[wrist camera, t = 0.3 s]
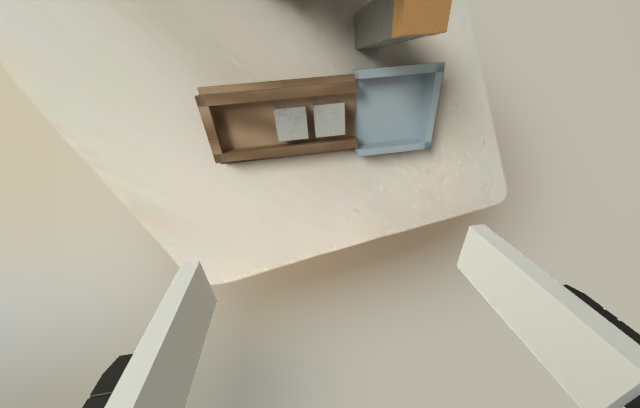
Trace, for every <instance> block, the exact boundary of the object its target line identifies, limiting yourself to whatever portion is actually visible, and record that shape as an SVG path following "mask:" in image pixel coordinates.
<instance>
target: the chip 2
mask: <svg viewBox="0 0 640 408" xmlns="http://www.w3.org/2000/svg"><path fill="white" fill-rule="evenodd" d="M312 115H313V127H314V134H315V137H316V138H318V137H327V136H337V135H345V103H344V102H342V101H331V102H320V103H312Z"/></svg>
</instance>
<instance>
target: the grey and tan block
mask: <svg viewBox="0 0 640 408" xmlns="http://www.w3.org/2000/svg"><path fill="white" fill-rule="evenodd" d="M451 2H452V0H372V1H371V2H370V3H369V4H367V5H366V6H365V7H364V8H363V9H361V10H360V11H359V12H358V13H356V14H355V49H366V48H379V47H385V46H389V45H393V44H397V43H401V42H405V41H409V40H413V39H417V38H421V37H425V36H432V35H436V34H440V33H445V32H447V26H448V20H449V14H450V8H451Z"/></svg>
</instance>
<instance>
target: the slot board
mask: <svg viewBox="0 0 640 408" xmlns="http://www.w3.org/2000/svg"><path fill="white" fill-rule="evenodd" d="M198 92H199V95H197V96H195V99H196V102H197V105H198V108H199V112H200V115H201V118H202V121H203V124H204V127H205V131H206V134H207V137H208V140H209V143H210V146H211V150H212V153H213V156H214V159H215V162H216V163H220V164H227V163H236V162H245V161H254V160H263V159H272V158H281V157H290V156H299V155H308V154H317V153H326V152H335V151H344V150H353V149H355V148H358V139H357V138H356V137H355V92H359V82H358V81H355V74H348V75H337V76H325V77H313V78H302V79H290V80H279V81H267V82H256V83H244V84H233V85H221V86H209V87H199V88H198ZM331 101H342V102H344V103H345V135H337V136H327V137H318V138H316V137H315V134H314V127H313V115H312V103H320V102H331ZM299 104H304V105H305V107H306V117H307V127H308V139H299V140H289V141H280V142H279V140H278V134H277V128H276V122H275V116H274V110H273V109H274V107H278V106H289V105H299Z"/></svg>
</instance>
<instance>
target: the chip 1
mask: <svg viewBox="0 0 640 408" xmlns="http://www.w3.org/2000/svg"><path fill="white" fill-rule="evenodd" d="M273 110H274V116H275V122H276V128H277V134H278V140H279V142H280V141H289V140H299V139H308V127H307V117H306V107H305V105H304V104H299V105H289V106H278V107H274V109H273Z"/></svg>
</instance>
